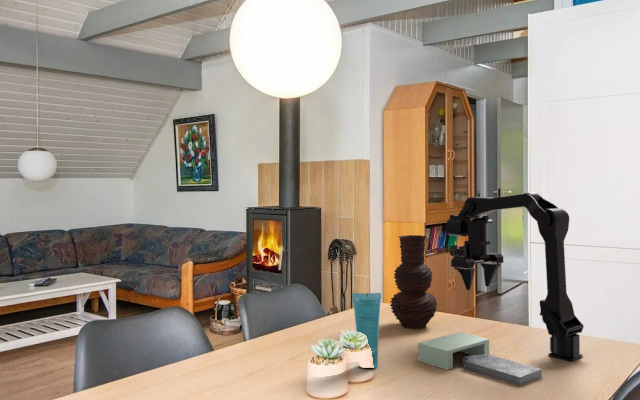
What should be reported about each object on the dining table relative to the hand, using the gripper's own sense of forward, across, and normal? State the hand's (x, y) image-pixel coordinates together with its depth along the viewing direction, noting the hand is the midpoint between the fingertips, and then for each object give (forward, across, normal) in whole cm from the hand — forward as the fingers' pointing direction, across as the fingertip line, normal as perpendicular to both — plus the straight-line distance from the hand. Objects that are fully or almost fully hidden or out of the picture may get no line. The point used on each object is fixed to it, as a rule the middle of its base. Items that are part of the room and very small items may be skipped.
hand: (477, 288), depth 174 cm
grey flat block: (+15, +24, +25) cm, 38 cm away
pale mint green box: (+15, +24, +10) cm, 30 cm away
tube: (+15, +46, 0) cm, 48 cm away
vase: (+15, +7, -21) cm, 26 cm away
